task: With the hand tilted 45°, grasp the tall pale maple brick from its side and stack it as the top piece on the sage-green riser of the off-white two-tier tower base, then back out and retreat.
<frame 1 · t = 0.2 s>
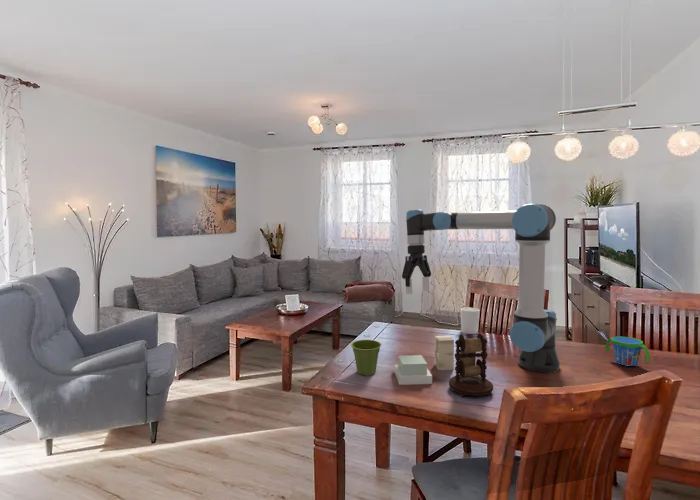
hand: (417, 292, 175), 27 cm above the table, tool pointing down, fingers open, 13 cm apart
snack cup: (625, 364, 160), on the table
plant pot: (366, 372, 154), on the table
brown wooden spool stand: (470, 390, 137), on the table
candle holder: (469, 332, 208), on the table
maple brick: (443, 367, 159), on the table
tower base: (412, 377, 149), on the table
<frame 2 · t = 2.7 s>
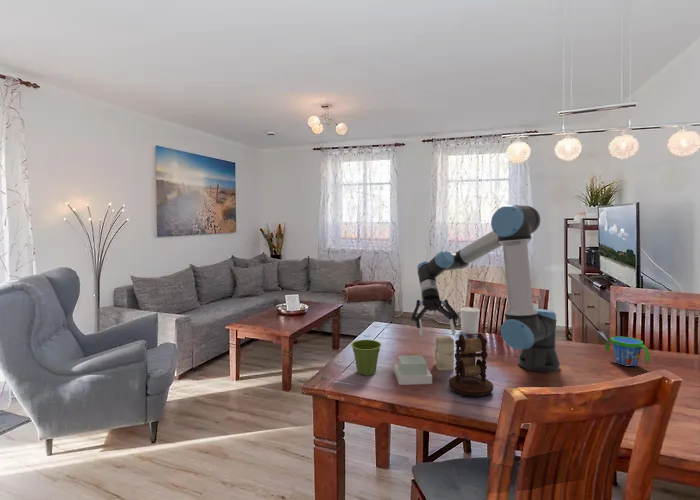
hand: (437, 334, 165), 11 cm above the table, tool tilted 45°, fingers open, 13 cm apart
nothing on the table moved.
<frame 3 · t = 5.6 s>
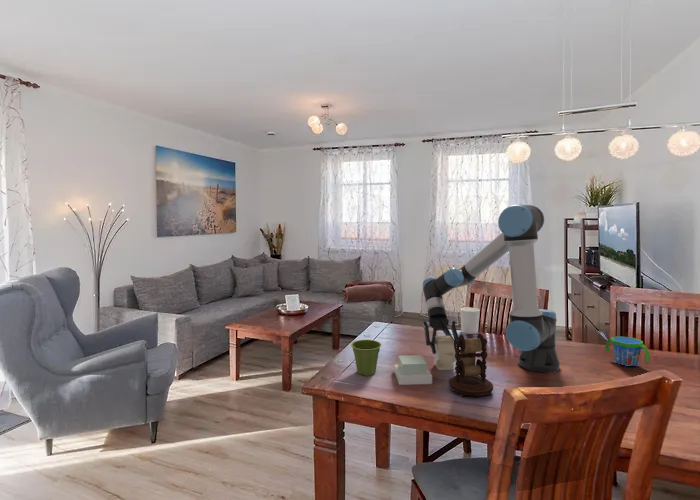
hand: (446, 360, 155), 4 cm above the table, tool tilted 45°, fingers closed on maple brick, 6 cm apart
maple brick: (443, 367, 159), on the table, touching gripper
everything else where it was.
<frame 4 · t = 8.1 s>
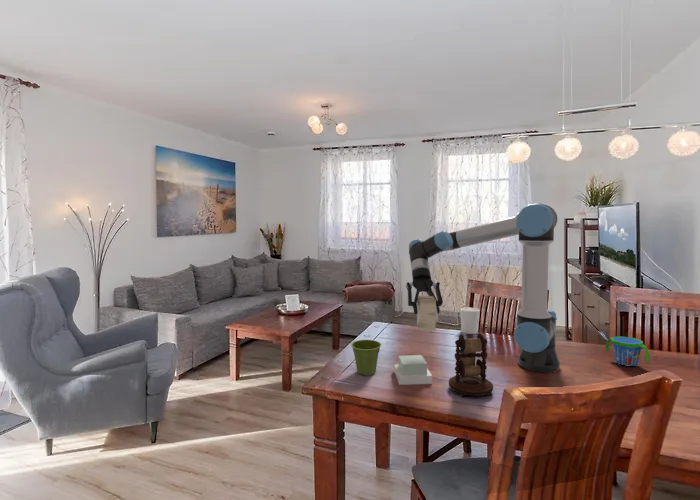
hand: (428, 320, 151), 21 cm above the table, tool tilted 45°, fingers closed on maple brick, 6 cm apart
maple brick: (426, 327, 155), point 17 cm above the table, touching gripper
everything else where it was.
when the fingers open (12 cm above the table, at t = 11.0 s): maple brick stays where it is, resting on tower base.
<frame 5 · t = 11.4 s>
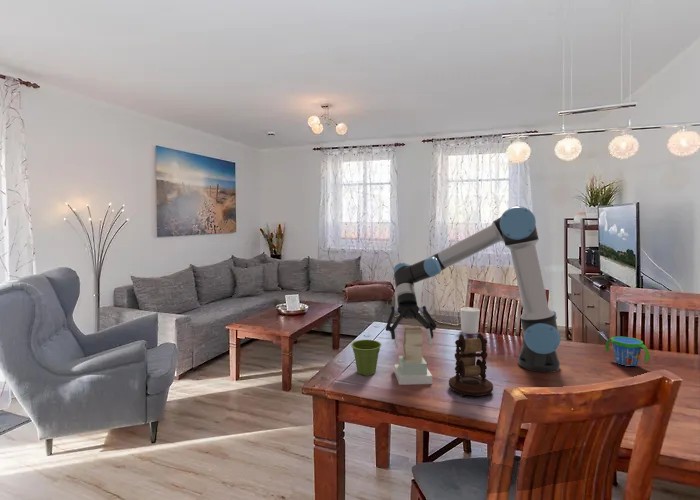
hand: (413, 346, 145), 13 cm above the table, tool tilted 45°, fingers open, 12 cm apart
maple brick: (412, 359, 148), point 7 cm above the table, touching tower base
everything else where it was.
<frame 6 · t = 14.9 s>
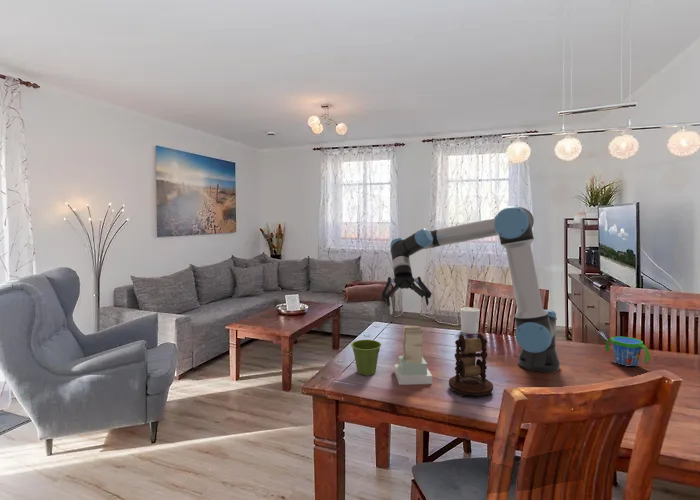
hand: (408, 312, 154), 23 cm above the table, tool tilted 45°, fingers open, 13 cm apart
nothing on the table moved.
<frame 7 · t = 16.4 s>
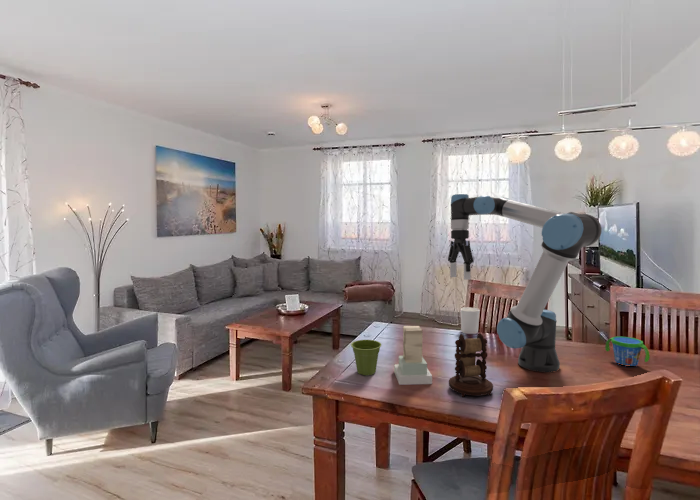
hand: (460, 278, 173), 33 cm above the table, tool pointing down, fingers open, 13 cm apart
nothing on the table moved.
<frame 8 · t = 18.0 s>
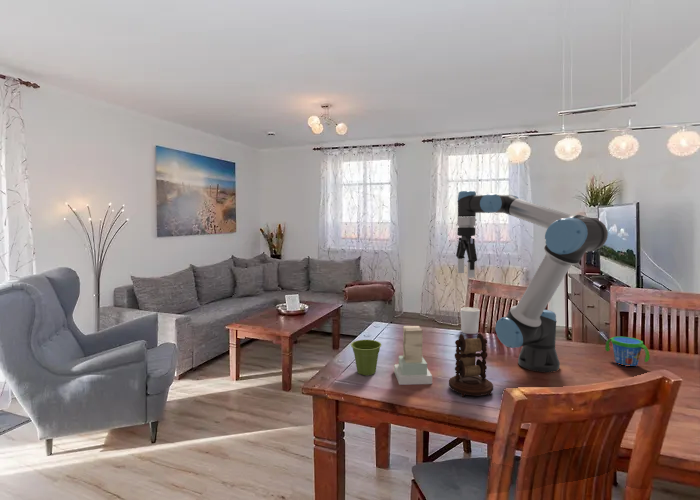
hand: (465, 275, 174), 35 cm above the table, tool pointing down, fingers open, 13 cm apart
nothing on the table moved.
at the end: maple brick inside the target area on the tower base (0.1 cm from its centre), point 7.0 cm above the tower base's base; maple brick tilted 0°; the gripper is holding nothing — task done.
